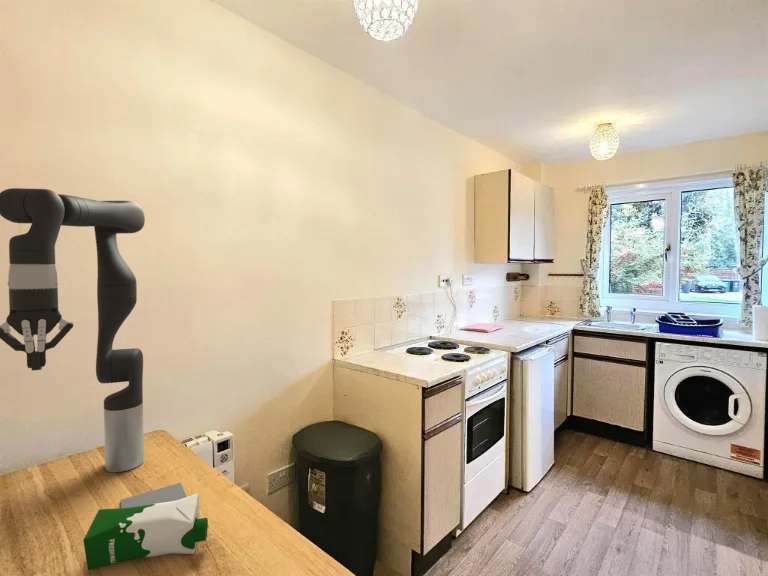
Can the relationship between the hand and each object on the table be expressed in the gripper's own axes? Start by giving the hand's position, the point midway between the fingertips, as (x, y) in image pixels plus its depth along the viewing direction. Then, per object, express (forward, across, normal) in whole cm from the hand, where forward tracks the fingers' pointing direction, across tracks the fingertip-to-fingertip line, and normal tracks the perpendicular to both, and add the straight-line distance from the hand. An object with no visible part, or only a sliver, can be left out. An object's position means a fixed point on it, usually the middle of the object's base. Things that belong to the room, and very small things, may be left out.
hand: (36, 369), depth 81 cm
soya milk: (+30, -9, +17) cm, 36 cm away
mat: (+35, -20, +7) cm, 41 cm away
